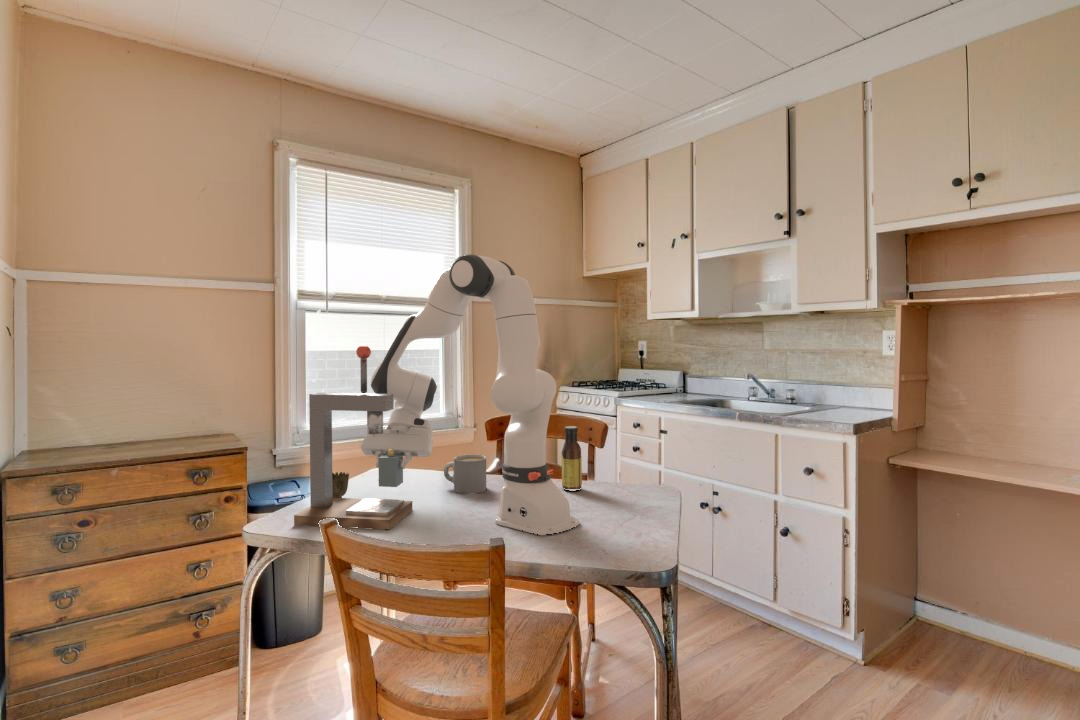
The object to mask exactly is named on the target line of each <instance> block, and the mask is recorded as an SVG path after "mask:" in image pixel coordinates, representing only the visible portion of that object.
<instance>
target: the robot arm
mask: <svg viewBox="0 0 1080 720" xmlns="http://www.w3.org/2000/svg"><path fill="white" fill-rule="evenodd" d="M474 298H480V299H488V300H489V301H490V302H491V304H492V306H493V312H494V322H495V329H496V337H497V348H498V349H497V350H498V352H497V353H498V355H497V356H498V357H497V358H498V359H497V367H496V368H497V369H496V375H495V380H494V382H493V384H492V386H491V389H490V398H491V401H492V403H493V405H494V407H495V408H496V409H497V410H499V411H500V412H502V413H504V414H510V419H509V423H508V426H507V427H506V430H505V432H504V445H503V446H504V448H503V449H504V450H503V452H504V453H503V454H504V456H503V457H504V459H503V461H504V462H503V463H502V469H501V472H502V478H503V483H502V487H501V490H500V498H499V507H498V515H497V517H496V519H495V524H497V525H500V526H504V527H506V528H510V529H515V530H518V531H522V530H523V531H522V532H526V533H530V534H533V533H534V535H537V534H538V535H537V536H547V535H546V534H552V535H554V534H553V533H557V532H561V533H563V532H562V531H565V530H568V529H570V530H572V529H571V528H573V527H575V526H577V525H578V524H579V525H580V519H578V518H577V517H575V516H573V515H571V508H570V502H569V499H568V498H567V497H566V496H565V494H564V493H563V492H562V491H561V490H560V489H559V488H558V486H557V485H556V484H555V483H554V482H553V481H552V479H551V478H552V475H553V474H554V472H553V471H554V469H549V468H550V467H549V464H548V463H547V434H548V425H549V421H550V416H551V410H552V406H553V405H552V404H553V401H554V398H555V396H556V393H557V383H556V381H555V378H554V376H552V375H551V374H550V373H549V372H547V371H545V370H542V369H539V368H537V363H538V362H537V360H538V354H539V349H540V347H541V337H540V330H539V324H538V316H537V310H536V303H535V299H534V296H533V291H532V289H531V285H530V284H529V282H528V280H527V279H526V278H524V276H523V277H522V276H519V275H516V273H515V271H514V269H513V268H512V267H511V266H510V265H509V264H507V263H506V262H504V261H501V260H497V259H495V258H492V257H489V256H485V255H476V254H472V253H470V254H463V255H460V256H458V257H457V258H455V259H454V260H453V261H452V263H451V265H450V267H449V268H448V269H445V270H443V271H441V273H440V274H439V276H438V277H437V279H436V280H435V283H434V284H433V287H432V288H431V290H430V293H429V295H428V298H427V300H426V303H425V305H424V307H423V308H422V309H421V310H420V311H419V312H418V313H417V314H411V315H410V316H409V317H408V318H407V319H406V320H405V322H404V323H403V325H402V327H401V328H400V330H399V331H398V332H397V335H396V337H395V339H394V340H393V342H392V343H391V345H390V347H389V349H388V350H387V352H386V354H385V356H384V357H383V360H382V362H381V363H380V364H379V365H378V366H377V367H376V368H375V370H374V372H373V374H372V376H371V380H370V387H371V389H372V391H373V392H374V394H393V400H394V401H395V402H394V409H392V411H391V413H390V416H389V420H388V423H387V425H383V433H381V434H367V432H366V434H365V436H364V437H363V440H362V441H361V444H360V449H361V452H363V455H364V456H375V458H376V463H375V467H376V469H379V457H381V456H383V455H385V454H388V449H394V454H403V460H402V461H399V464H398V467H399V469H403V470H405V469H406V465H407V464H408V463H409V462H411V461H412V458H417V457H418V458H428V457H429V456H431V455H432V451H433V447H434V446H433V445H434V440H433V436H434V431H433V428H432V425H431V424H430V422H429V420H428V419H427V420H426V419H425V418H424V419H423V418H421V416H422V414H423V413H424V412H425V411H427V410H429V409H430V408H431V407H432V405H433V402H434V398H435V394H436V391H437V388H438V386H437V383H436V381H435V378H434V377H432V376H430V375H427V374H425V373H422V372H419V371H414V370H411V369H408V368H405V367H403V366H400V365H399V364H398V363H399V361H400V359H401V358H402V356H403V355H404V353H405V351H406V350H407V347H408V346H409V345H410V343H412V342H413V341H417V340H420V339H421V340H423V339H442V338H447V337H449V336H452V335H453V334H454V333H456V332H457V331H458V330H459V329H460V328H459V327H460V326H461V324H462V322H463V321H464V320H463V319H464V318H465V315H466V311H467V309H468V305H469V304H470V302H471V300H473V299H474ZM579 525H578V526H579ZM578 526H577V527H578ZM575 528H576V527H575ZM573 529H574V528H573ZM568 531H569V530H568ZM565 532H566V531H565ZM557 534H558V533H557Z"/></svg>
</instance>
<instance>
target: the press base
mask: <svg viewBox="0 0 1080 720" xmlns="http://www.w3.org/2000/svg"><path fill="white" fill-rule="evenodd" d="M363 499H364V498H352V497H351V498H349V497H342V498H333V505H331V506H329V507H328V508H326V509H315V508H311V505H310V506H309V507H307V508H305V509H303V510H301V511H299V512H298V513H296V514H294V515H293V520H294V521H293V525H294V526H300V525H308V526H307V527H320V526H319V524H318V523H319V521H320V520H323V519H326V518H335V519H337V520H338V522H339V525H340V526H342V527H344V529H349V528H348V527H358V528H357V529H359V528H372V529H371V530H378V529H388V530H387V531H390V530H391V529H392V528H394V527H395V526H396V525H397V524H398V523H399V522H401V521H402V520H403V519H404V518H405V517H406V516H407V515H409V514H410V513H411V512H412V511H413V501H412V500H404V504H403V505H401V506H400V507H399V508H398V509H396V510H395V511H394V512H393V513H391V514H390V515H389V516H366V515H346V510H348V509H349V508H351V507H352V506H354V505H355V504H357V503H358V502H360V501H361V500H363ZM409 512H410V513H409ZM408 513H409V514H408ZM404 516H405V517H404ZM403 517H404V518H403ZM402 518H403V519H402ZM401 519H402V520H401ZM397 522H398V523H397ZM396 523H397V524H396ZM395 524H396V525H395ZM394 525H395V526H394ZM389 529H390V530H389Z"/></svg>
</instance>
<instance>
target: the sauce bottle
mask: <svg viewBox="0 0 1080 720" xmlns="http://www.w3.org/2000/svg"><path fill="white" fill-rule="evenodd" d="M578 428H579V427H578V426H575V425H569V426H568V425H567V426H564V443H563V447H562V449H561V453H560V454H561V485H562V487H563V488H565V489H580V488H581V489H582V483H583V478H582V477H583V472H582V471H583V470H582V469H583V468H582V462H583V461H582V448H581V446H580V444H579V442H578V430H579V429H578ZM563 488H562V489H563Z"/></svg>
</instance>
